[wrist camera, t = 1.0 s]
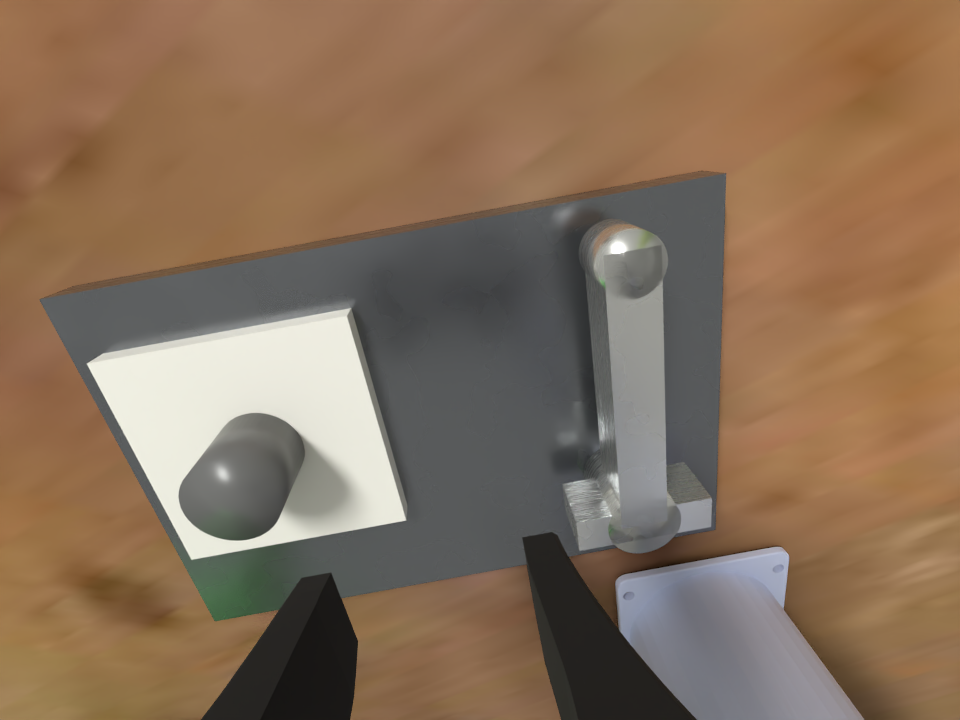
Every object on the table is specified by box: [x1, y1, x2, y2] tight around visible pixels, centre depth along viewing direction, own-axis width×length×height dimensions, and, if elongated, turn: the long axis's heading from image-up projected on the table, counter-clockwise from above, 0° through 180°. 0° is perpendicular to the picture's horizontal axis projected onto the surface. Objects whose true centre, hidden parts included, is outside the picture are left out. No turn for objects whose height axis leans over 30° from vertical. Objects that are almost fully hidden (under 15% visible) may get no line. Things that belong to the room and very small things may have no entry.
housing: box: [39, 171, 726, 621], centre depth 19 cm, size 14×21×2 cm, turn 99°
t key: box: [562, 219, 712, 553], centre depth 16 cm, size 11×4×3 cm, turn 9°
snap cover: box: [87, 308, 408, 560], centre depth 16 cm, size 8×8×4 cm
